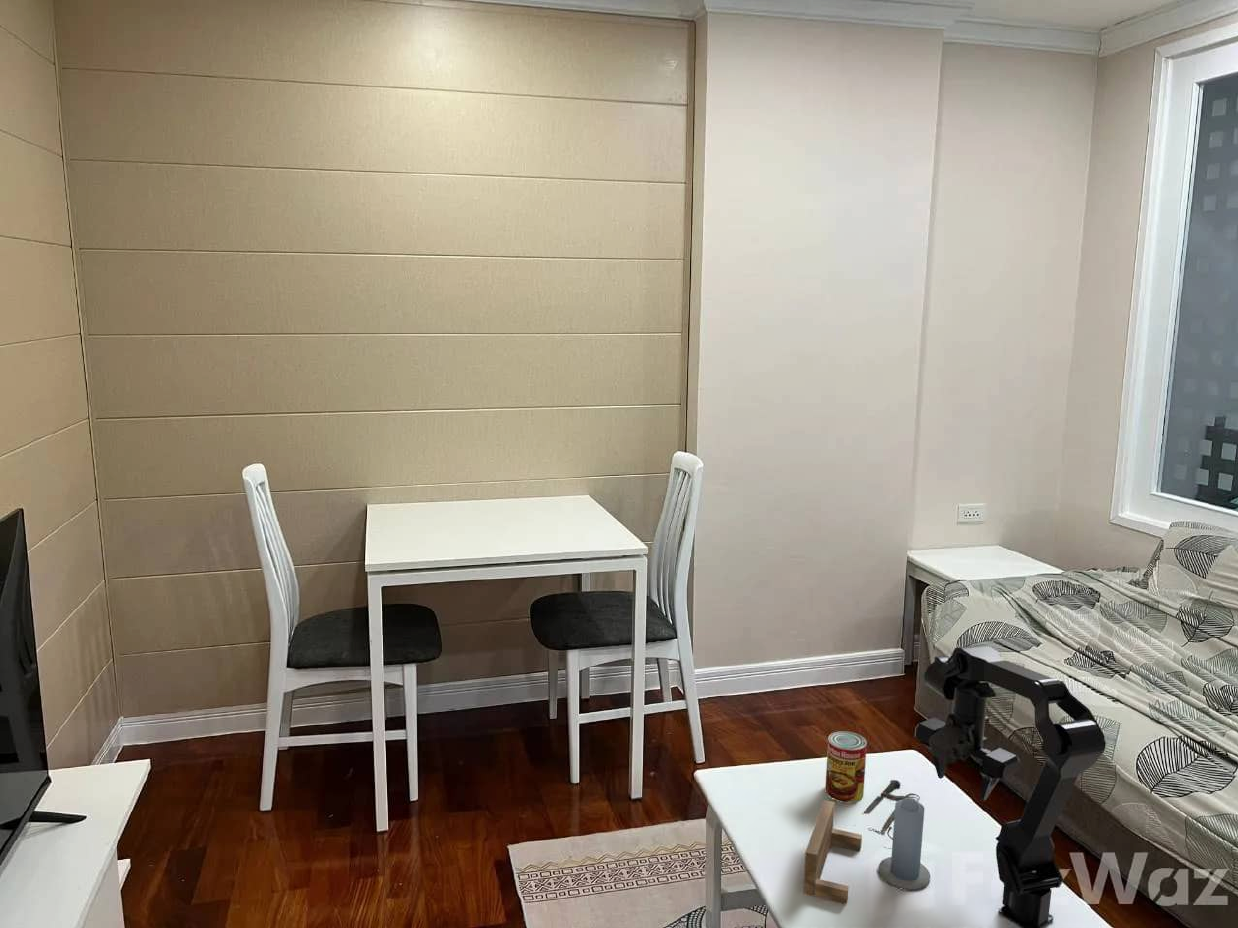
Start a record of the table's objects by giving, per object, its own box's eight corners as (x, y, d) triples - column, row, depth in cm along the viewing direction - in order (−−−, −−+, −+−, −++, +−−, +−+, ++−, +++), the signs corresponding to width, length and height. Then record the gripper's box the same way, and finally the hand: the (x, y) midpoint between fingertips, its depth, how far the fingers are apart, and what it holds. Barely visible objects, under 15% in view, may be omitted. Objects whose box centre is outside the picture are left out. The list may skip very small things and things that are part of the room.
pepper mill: (925, 874, 168) (931, 800, 165) (907, 883, 165) (912, 809, 162) (902, 859, 172) (908, 788, 169) (884, 869, 169) (889, 796, 167)
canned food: (819, 794, 195) (822, 742, 193) (833, 778, 201) (836, 727, 199) (855, 807, 190) (858, 753, 188) (868, 790, 197) (872, 737, 195)
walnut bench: (861, 846, 177) (863, 808, 176) (846, 903, 161) (849, 862, 159) (821, 837, 180) (823, 799, 178) (803, 892, 164) (805, 852, 162)
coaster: (940, 878, 168) (940, 875, 168) (908, 896, 163) (908, 893, 163) (900, 853, 175) (900, 850, 175) (868, 870, 170) (868, 867, 170)
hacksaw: (892, 782, 201) (892, 776, 200) (939, 799, 194) (940, 793, 194) (842, 833, 182) (843, 826, 182) (893, 853, 176) (893, 846, 176)
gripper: (899, 702, 173) (893, 779, 177) (987, 743, 158) (979, 826, 161) (936, 688, 180) (930, 762, 183) (1025, 726, 165) (1017, 806, 168)
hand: (961, 788), depth 174 cm, fingers open, 9 cm apart
